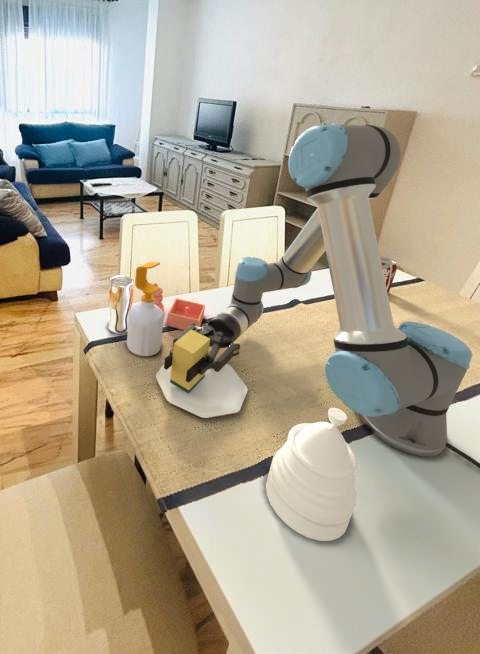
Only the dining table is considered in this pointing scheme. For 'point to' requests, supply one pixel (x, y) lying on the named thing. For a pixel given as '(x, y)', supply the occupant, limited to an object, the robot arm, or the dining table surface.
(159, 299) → the pink open box
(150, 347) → the soap bottle
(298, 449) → the honey pot
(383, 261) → the soda can
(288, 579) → the dining table surface
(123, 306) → the beer glass
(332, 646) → the dining table surface
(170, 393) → the plate
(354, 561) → the dining table surface
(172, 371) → the sponge
